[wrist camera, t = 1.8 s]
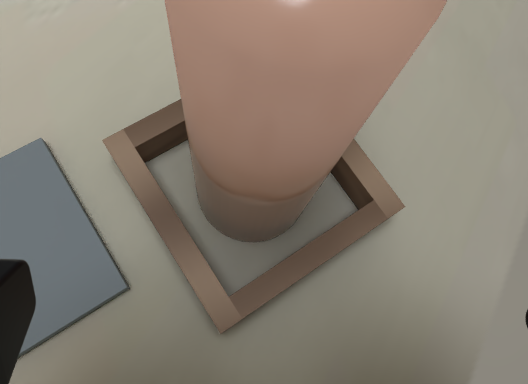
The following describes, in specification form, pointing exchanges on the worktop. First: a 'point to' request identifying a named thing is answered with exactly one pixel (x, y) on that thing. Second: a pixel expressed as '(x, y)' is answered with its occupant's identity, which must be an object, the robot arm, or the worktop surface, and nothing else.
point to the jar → (282, 95)
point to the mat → (53, 243)
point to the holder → (187, 253)
